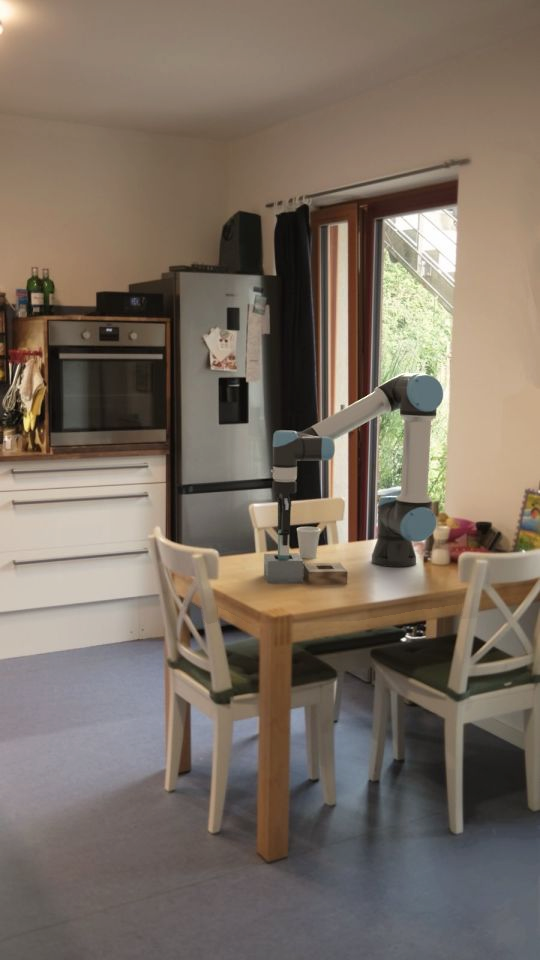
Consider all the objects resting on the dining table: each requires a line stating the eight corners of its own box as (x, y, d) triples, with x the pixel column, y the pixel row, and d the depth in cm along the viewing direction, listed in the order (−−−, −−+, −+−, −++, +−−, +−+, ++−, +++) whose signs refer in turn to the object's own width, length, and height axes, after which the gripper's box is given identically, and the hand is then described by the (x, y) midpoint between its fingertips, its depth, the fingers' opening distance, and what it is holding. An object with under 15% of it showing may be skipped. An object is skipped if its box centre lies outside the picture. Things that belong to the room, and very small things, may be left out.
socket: (297, 574, 315) (298, 553, 314) (303, 582, 304) (303, 560, 303) (263, 575, 314) (264, 553, 313) (267, 583, 303) (268, 561, 302)
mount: (339, 574, 315) (340, 562, 315) (347, 583, 304) (347, 571, 303) (303, 575, 314) (303, 563, 313) (309, 584, 302) (309, 571, 302)
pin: (287, 572, 311) (288, 529, 309) (289, 575, 307) (290, 531, 306) (276, 572, 310) (277, 529, 309) (278, 575, 307) (278, 531, 305)
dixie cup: (316, 560, 337) (316, 531, 335) (293, 558, 339) (293, 530, 338) (322, 555, 345) (323, 527, 343) (299, 553, 347) (300, 526, 346)
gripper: (269, 476, 313) (268, 548, 316) (275, 483, 296) (274, 559, 300) (292, 476, 313) (291, 548, 317) (300, 483, 297) (299, 559, 300)
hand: (283, 553), depth 308 cm, fingers closed on pin, 3 cm apart
